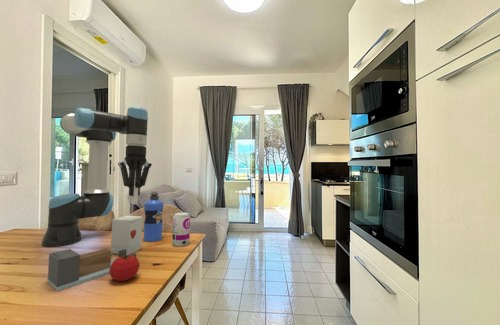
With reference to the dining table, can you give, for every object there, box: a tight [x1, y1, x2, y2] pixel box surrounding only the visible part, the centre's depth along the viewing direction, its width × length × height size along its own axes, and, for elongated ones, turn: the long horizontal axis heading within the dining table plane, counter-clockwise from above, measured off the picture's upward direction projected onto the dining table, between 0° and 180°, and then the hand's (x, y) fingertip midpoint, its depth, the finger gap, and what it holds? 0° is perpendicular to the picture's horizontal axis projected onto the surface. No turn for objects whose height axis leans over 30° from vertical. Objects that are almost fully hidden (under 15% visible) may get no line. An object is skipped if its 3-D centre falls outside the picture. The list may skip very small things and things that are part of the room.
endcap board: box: [46, 248, 137, 292], centre depth 80 cm, size 10×24×9 cm, turn 145°
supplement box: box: [110, 215, 143, 255], centre depth 101 cm, size 9×9×15 cm
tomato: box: [109, 254, 140, 282], centre depth 76 cm, size 9×9×8 cm
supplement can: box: [171, 211, 191, 247], centre depth 112 cm, size 8×8×15 cm
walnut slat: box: [79, 247, 112, 277], centre depth 77 cm, size 4×14×6 cm, turn 146°
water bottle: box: [142, 191, 164, 243], centre depth 119 cm, size 9×9×25 cm
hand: (133, 203), depth 91 cm, fingers closed
